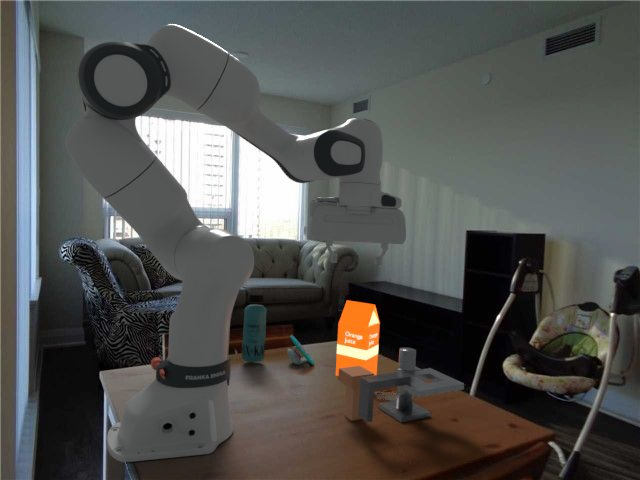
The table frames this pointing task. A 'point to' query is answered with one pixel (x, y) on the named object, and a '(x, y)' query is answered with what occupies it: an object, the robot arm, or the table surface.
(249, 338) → the beverage bottle
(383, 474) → the table surface
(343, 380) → the brown block
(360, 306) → the orange juice
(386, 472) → the table surface
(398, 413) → the grey windowed jig
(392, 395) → the mounting bracket
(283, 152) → the robot arm
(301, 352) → the ornament
